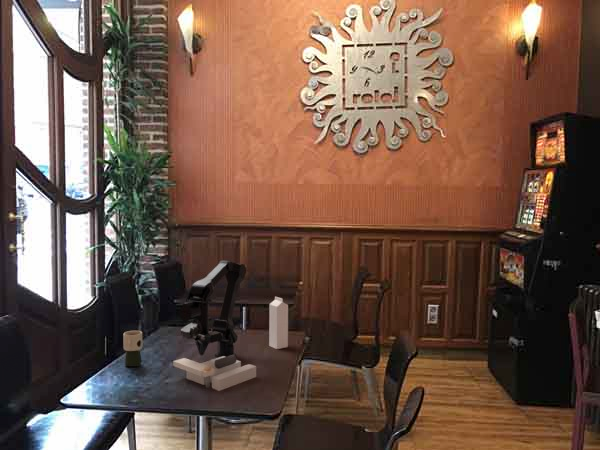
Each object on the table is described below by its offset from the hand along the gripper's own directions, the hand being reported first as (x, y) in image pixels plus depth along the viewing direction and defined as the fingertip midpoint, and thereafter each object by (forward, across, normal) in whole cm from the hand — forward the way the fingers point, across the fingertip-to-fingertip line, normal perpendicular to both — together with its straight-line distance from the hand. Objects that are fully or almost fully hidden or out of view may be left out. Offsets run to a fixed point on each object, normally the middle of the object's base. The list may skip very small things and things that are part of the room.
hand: (201, 355), depth 204 cm
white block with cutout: (+5, +14, -2) cm, 15 cm away
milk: (+5, +4, +40) cm, 41 cm away
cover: (+1, +9, -11) cm, 14 cm away
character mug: (+5, -22, -16) cm, 28 cm away
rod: (-2, +13, 0) cm, 13 cm away
